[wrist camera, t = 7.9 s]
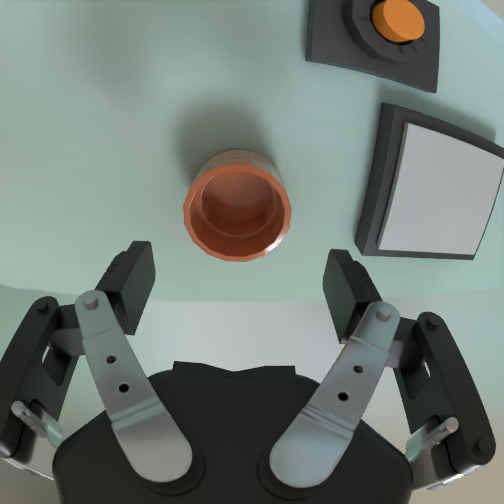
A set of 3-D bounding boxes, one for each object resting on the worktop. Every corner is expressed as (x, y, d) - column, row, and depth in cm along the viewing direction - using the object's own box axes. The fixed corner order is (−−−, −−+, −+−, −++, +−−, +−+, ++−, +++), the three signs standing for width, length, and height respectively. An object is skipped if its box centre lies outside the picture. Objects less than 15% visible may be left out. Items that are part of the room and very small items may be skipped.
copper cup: (196, 227, 22) (186, 259, 18) (195, 147, 19) (181, 163, 15) (277, 230, 22) (284, 263, 19) (285, 151, 19) (296, 168, 15)
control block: (305, 61, 15) (316, 56, 13) (310, -30, 11) (320, -46, 9) (426, 92, 16) (449, 95, 13) (430, 9, 12) (451, 4, 9)
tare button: (370, 34, 12) (382, 30, 11) (371, -3, 10) (383, -10, 9) (410, 47, 12) (424, 46, 11) (411, 11, 11) (424, 7, 9)
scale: (354, 243, 23) (364, 260, 21) (381, 102, 17) (398, 105, 15) (463, 250, 24) (476, 263, 22) (495, 144, 17) (512, 152, 15)
